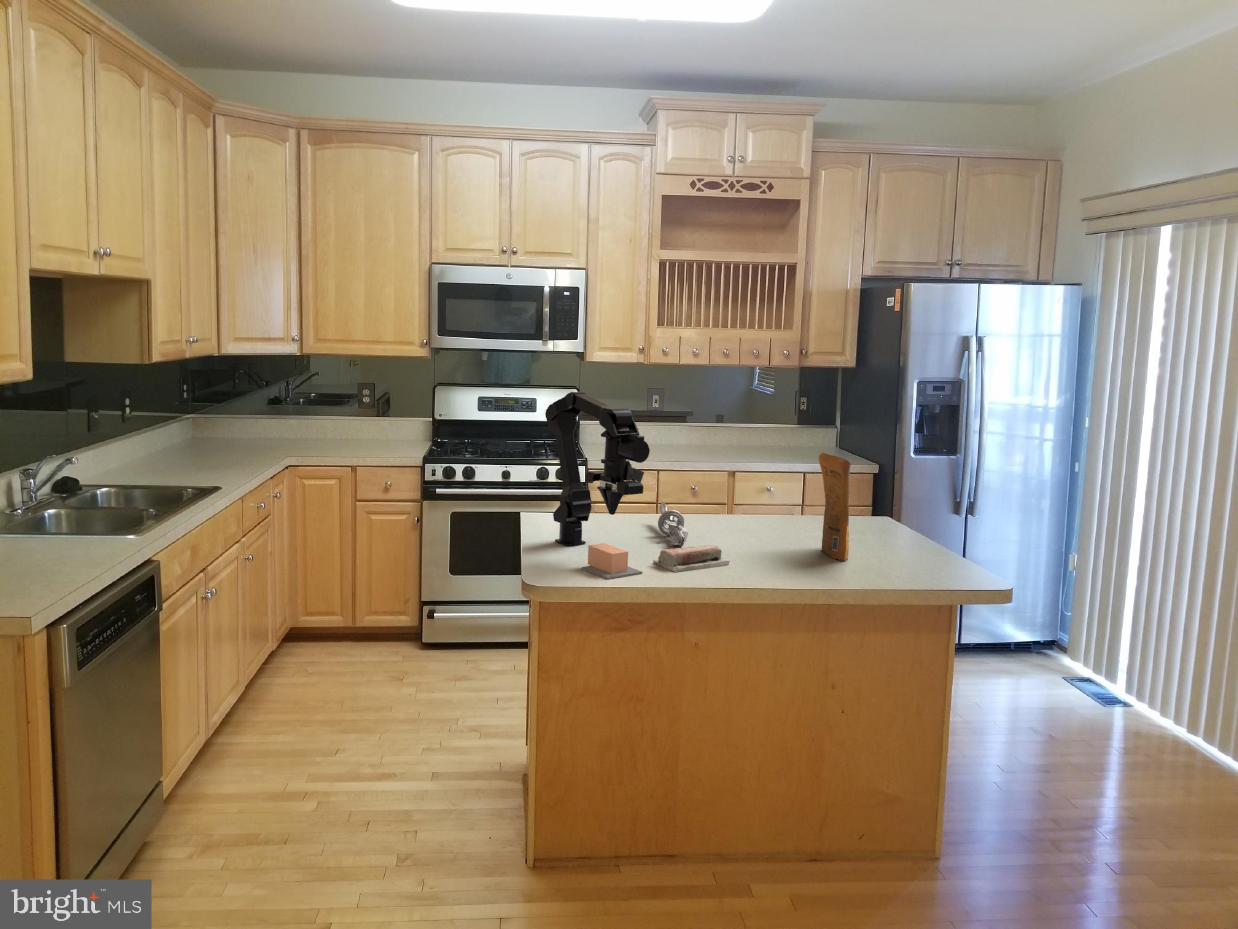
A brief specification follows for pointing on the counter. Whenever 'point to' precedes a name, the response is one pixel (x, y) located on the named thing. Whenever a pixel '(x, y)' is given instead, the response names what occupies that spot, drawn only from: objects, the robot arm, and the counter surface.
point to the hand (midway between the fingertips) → (612, 514)
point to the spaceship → (672, 525)
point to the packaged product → (691, 558)
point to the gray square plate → (608, 575)
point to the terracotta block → (607, 558)
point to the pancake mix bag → (835, 506)
